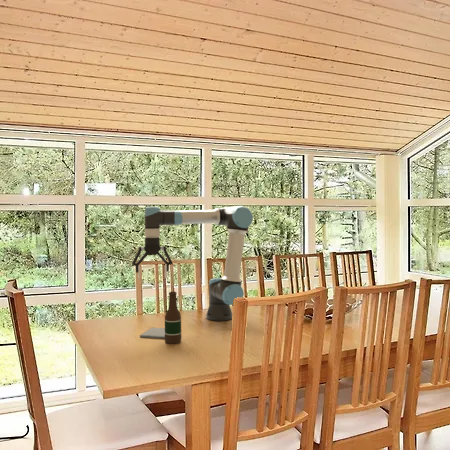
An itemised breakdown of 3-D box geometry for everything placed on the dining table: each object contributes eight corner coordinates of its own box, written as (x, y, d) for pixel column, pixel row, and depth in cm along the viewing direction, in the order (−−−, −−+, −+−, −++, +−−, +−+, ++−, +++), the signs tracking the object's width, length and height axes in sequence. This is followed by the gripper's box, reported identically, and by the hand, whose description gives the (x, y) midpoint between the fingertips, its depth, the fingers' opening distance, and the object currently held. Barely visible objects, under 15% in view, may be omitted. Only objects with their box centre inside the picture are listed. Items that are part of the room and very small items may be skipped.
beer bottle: (166, 345, 220) (165, 293, 219) (163, 341, 227) (163, 290, 227) (182, 344, 222) (182, 292, 221) (179, 339, 229) (179, 290, 229)
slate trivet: (181, 331, 246) (181, 329, 246) (170, 339, 230) (170, 337, 230) (152, 329, 249) (152, 327, 249) (139, 337, 234) (139, 335, 234)
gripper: (175, 236, 250) (175, 276, 251) (126, 236, 244) (127, 278, 244) (177, 237, 243) (177, 278, 244) (127, 237, 236) (128, 280, 237)
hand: (152, 278), depth 244 cm, fingers open, 13 cm apart
